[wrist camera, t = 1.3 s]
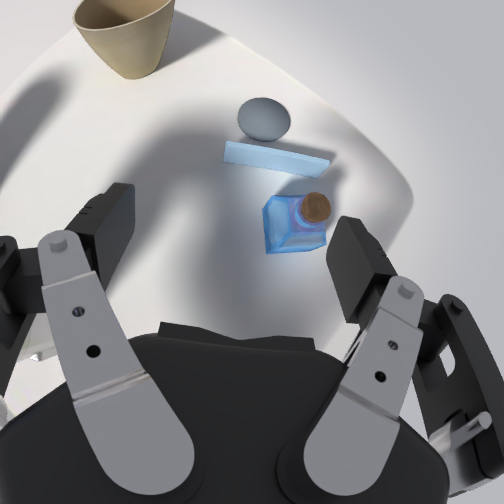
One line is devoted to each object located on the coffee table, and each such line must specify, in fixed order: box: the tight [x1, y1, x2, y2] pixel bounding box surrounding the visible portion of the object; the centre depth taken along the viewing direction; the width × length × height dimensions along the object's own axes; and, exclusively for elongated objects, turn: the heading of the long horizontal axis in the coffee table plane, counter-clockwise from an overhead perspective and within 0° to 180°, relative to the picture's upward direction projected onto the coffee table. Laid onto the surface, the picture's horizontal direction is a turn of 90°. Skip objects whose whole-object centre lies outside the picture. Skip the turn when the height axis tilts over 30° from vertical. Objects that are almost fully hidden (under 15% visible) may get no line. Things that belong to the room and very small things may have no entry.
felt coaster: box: [238, 98, 290, 142], centre depth 43 cm, size 8×8×1 cm
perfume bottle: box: [262, 192, 331, 254], centre depth 36 cm, size 6×6×12 cm
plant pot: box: [73, 0, 175, 79], centre depth 34 cm, size 15×15×16 cm
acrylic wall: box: [223, 141, 330, 178], centre depth 40 cm, size 1×14×5 cm, turn 83°
